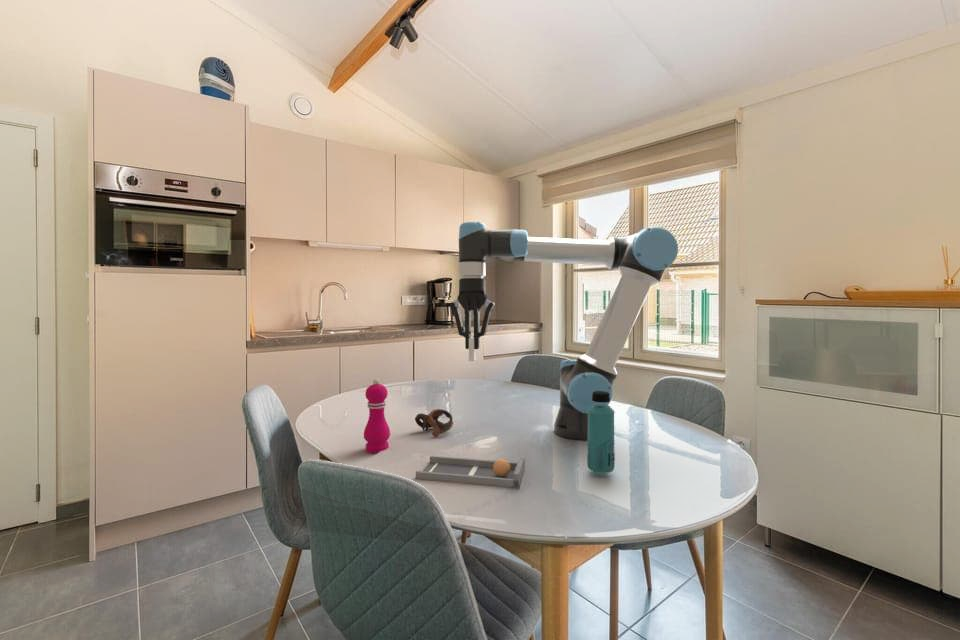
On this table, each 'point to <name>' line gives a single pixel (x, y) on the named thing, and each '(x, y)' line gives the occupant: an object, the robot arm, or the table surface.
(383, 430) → the pepper mill
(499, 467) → the ball
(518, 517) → the table surface
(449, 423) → the brown pretzel knot
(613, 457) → the beverage bottle
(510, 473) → the lane
